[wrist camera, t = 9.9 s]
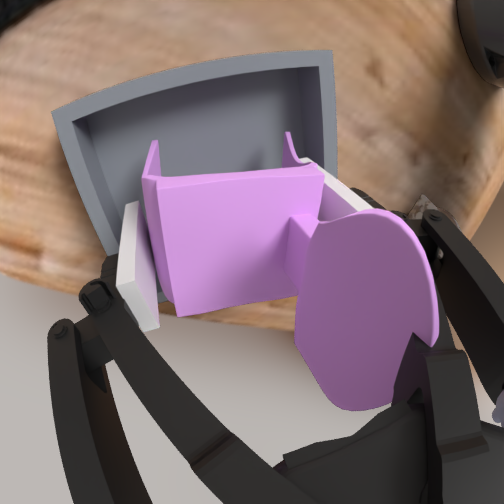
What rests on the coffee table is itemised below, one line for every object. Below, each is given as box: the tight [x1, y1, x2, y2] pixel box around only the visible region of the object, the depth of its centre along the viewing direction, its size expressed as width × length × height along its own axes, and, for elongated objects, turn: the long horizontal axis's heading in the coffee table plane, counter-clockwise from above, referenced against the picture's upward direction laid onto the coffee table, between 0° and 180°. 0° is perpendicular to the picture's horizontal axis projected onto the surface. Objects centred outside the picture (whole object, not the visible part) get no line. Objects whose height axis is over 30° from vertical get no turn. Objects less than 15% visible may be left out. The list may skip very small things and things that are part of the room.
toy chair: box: [141, 132, 439, 411], centre depth 12 cm, size 8×9×15 cm
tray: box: [51, 50, 337, 303], centre depth 19 cm, size 16×15×4 cm
